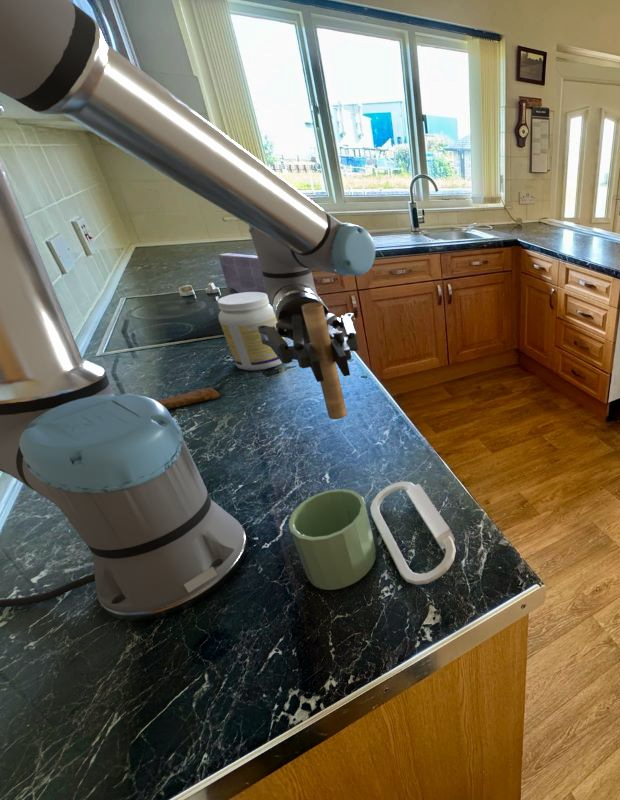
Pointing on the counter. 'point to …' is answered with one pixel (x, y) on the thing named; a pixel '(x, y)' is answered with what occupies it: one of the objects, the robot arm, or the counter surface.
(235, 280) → the cake pan box
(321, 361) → the stick
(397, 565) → the white oval ring
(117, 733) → the counter surface
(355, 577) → the cup
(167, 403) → the brown rounded bar
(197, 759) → the counter surface
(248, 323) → the supplement tub
